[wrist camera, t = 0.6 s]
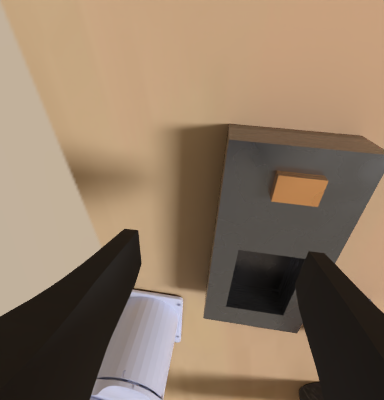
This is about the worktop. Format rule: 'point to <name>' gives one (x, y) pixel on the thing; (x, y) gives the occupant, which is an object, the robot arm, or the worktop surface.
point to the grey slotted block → (282, 217)
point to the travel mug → (311, 392)
